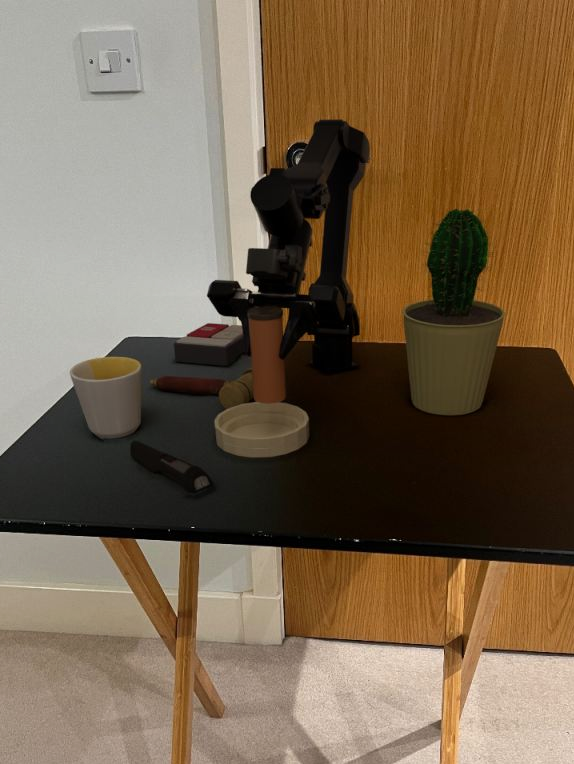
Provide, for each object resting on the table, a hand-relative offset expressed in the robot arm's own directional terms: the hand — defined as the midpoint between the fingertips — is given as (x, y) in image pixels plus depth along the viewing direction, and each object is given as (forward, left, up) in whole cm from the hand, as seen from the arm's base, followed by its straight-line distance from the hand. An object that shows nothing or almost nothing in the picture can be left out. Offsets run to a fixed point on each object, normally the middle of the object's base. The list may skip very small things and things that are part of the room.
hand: (264, 356), depth 104 cm
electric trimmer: (+16, +1, -14) cm, 21 cm away
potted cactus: (-32, +1, -14) cm, 35 cm away
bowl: (0, -2, -13) cm, 14 cm away
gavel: (0, -24, -14) cm, 28 cm away
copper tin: (-1, -1, -6) cm, 7 cm away
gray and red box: (-12, -44, -14) cm, 47 cm away
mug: (+16, -18, -14) cm, 28 cm away
